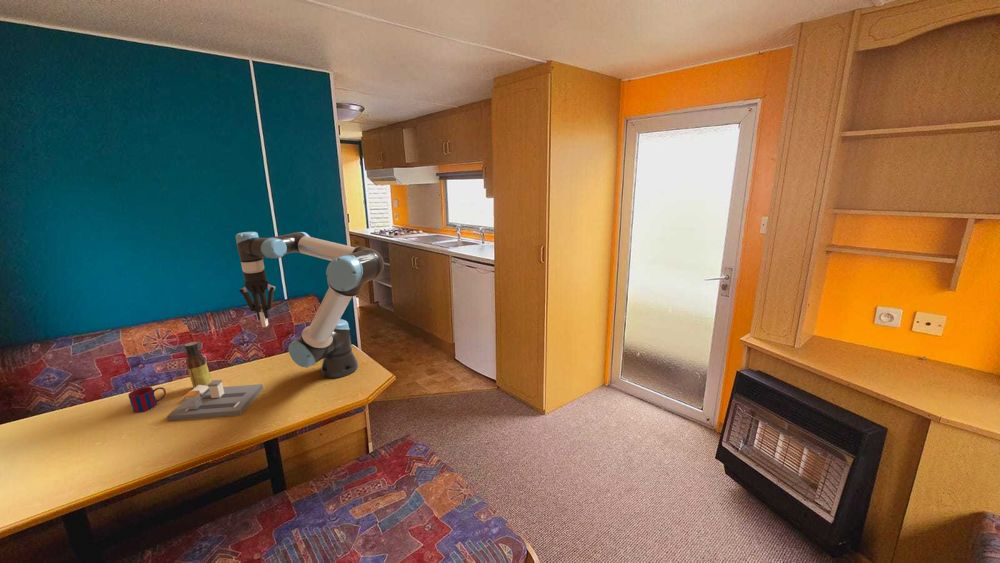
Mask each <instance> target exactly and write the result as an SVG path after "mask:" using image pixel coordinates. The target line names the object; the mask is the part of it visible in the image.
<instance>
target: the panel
mask: <svg viewBox="0 0 1000 563" xmlns="http://www.w3.org/2000/svg"><path fill="white" fill-rule="evenodd" d="M263 389H264V384H247V385H234V386H233V385H232V386H223V390H224V394H223V395H222V396H221V397H220V398H211V394H210V390H209V389H208V390H207V391H206V392H204V393H203V394H202V395H200V397H201V401H202V405H201V406H200V407H199V408H198V409H193V410H188V406H187V403H186V399H184V401H183V402H181V403H180V404H179V405H178V406H177V407H176V408H174V409H173V410H172V411H171V412H170V413H168V415H166V419H167V420H168V421H167V422H169V421H170V422H171V421H173V422H174V421H184V420H195V419H198V420H199V419H208V418H209V419H210V418H211V419H212V418H221V417H232V416H233V417H235V416H241V415H242V414H243V413H244V412H245V411H246V409H247V408H248V407H249V406H250V405H251V404H252V402H253V401H254V400H255V399H256V398H257V396H259V394H260V393H261V392H262V391H263Z"/></svg>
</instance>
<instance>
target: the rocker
mask: <svg viewBox="0 0 1000 563" xmlns="http://www.w3.org/2000/svg"><path fill="white" fill-rule="evenodd" d="M208 389H209V387H208V386H205V385H197V386H196V387H195V388H193V389H192V390H191V391H198V390H199V391H200V395H202V394H203V393H204V392H206V391H207V390H208Z"/></svg>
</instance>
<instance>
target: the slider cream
mask: <svg viewBox="0 0 1000 563" xmlns="http://www.w3.org/2000/svg"><path fill="white" fill-rule="evenodd" d="M222 382H223V379H214V380H213V379H212V381H211V382H210V383H209V384H208V387H209V390H210V394H211V398H220V397H221V396H222V395H223V394H224V390H223V387H224V386H223V383H222Z"/></svg>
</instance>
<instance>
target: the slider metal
mask: <svg viewBox="0 0 1000 563" xmlns="http://www.w3.org/2000/svg"><path fill="white" fill-rule="evenodd" d="M184 400H186V403H187V406H188V410H193V409H198V408H199V407H200V406H201V405H202V401H201V397H200V391H199V390H198V391H192V390H189V391H188V392H187V393H186V394H184Z"/></svg>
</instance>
